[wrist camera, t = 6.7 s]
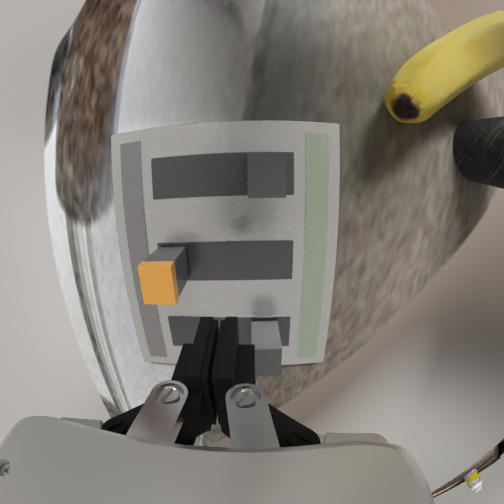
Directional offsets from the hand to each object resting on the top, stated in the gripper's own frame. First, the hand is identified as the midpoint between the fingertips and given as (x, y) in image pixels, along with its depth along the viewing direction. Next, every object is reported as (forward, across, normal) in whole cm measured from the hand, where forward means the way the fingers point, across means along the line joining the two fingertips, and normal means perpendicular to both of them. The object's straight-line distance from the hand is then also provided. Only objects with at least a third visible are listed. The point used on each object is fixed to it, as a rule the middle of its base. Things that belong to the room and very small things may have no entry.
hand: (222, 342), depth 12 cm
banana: (+15, -21, -19) cm, 32 cm away
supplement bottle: (+12, -97, +106) cm, 144 cm away
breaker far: (+12, -2, +8) cm, 15 cm away
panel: (+14, +1, +1) cm, 14 cm away
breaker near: (+12, -2, -7) cm, 14 cm away
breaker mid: (+12, +6, +1) cm, 14 cm away
